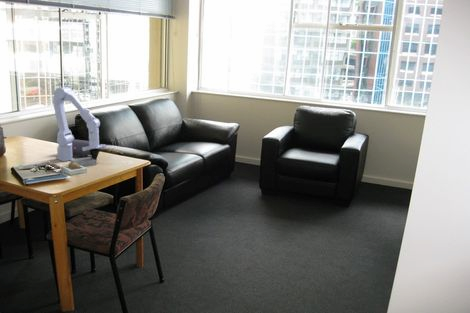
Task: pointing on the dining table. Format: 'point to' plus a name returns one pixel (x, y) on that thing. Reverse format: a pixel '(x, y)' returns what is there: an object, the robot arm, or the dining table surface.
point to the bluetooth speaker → (80, 148)
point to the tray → (76, 171)
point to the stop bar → (53, 165)
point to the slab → (84, 161)
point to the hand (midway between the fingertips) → (94, 160)
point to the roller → (74, 166)
